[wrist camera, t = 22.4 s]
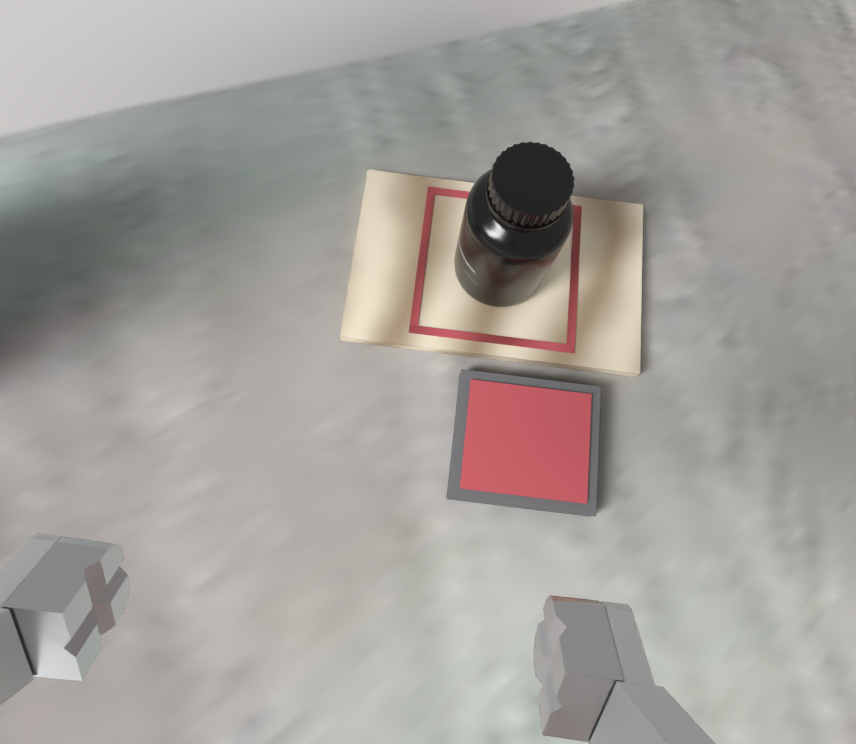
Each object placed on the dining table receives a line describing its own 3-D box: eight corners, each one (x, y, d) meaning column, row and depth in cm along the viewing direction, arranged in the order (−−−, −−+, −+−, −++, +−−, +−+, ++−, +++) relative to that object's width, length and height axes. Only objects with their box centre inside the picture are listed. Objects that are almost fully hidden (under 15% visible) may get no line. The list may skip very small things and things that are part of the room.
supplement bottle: (435, 277, 44) (447, 186, 32) (485, 212, 46) (513, 103, 34) (511, 328, 43) (552, 253, 32) (559, 259, 45) (615, 164, 33)
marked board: (341, 340, 43) (339, 335, 42) (368, 176, 47) (367, 168, 46) (634, 376, 44) (640, 373, 43) (638, 211, 47) (643, 203, 46)
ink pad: (446, 498, 41) (448, 497, 39) (459, 374, 43) (461, 368, 41) (589, 516, 41) (597, 515, 39) (594, 391, 43) (601, 385, 42)
